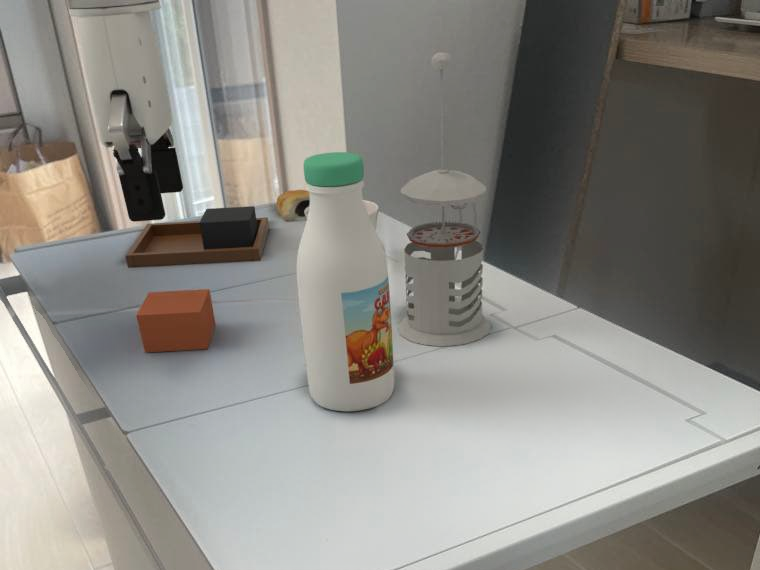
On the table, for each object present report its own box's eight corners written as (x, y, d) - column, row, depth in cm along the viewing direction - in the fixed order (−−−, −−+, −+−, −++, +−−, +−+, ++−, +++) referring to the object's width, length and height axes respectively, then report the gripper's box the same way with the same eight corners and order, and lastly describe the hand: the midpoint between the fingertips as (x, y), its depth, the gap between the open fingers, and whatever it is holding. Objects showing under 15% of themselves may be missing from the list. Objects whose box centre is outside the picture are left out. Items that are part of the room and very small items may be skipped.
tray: (129, 272, 105) (125, 255, 104) (150, 239, 116) (146, 223, 115) (260, 265, 106) (258, 248, 104) (269, 232, 117) (267, 217, 115)
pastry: (268, 210, 126) (265, 183, 123) (311, 204, 128) (309, 178, 125) (285, 226, 119) (282, 198, 116) (331, 220, 121) (329, 192, 118)
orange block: (144, 352, 85) (135, 315, 83) (156, 328, 90) (148, 292, 88) (207, 349, 85) (200, 311, 83) (216, 325, 90) (209, 288, 88)
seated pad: (204, 254, 108) (198, 222, 106) (211, 239, 113) (206, 208, 111) (254, 251, 108) (249, 219, 106) (258, 236, 113) (254, 205, 111)
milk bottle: (319, 420, 72) (291, 173, 60) (302, 382, 78) (274, 152, 66) (405, 405, 74) (394, 162, 62) (382, 370, 80) (368, 142, 68)
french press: (381, 338, 86) (365, 59, 71) (427, 299, 94) (421, 41, 79) (471, 352, 82) (474, 61, 67) (510, 310, 91) (520, 43, 76)
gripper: (92, -12, 77) (137, 185, 87) (34, 2, 63) (96, 235, 73) (174, -17, 77) (210, 180, 87) (134, -5, 63) (182, 229, 73)
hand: (158, 205), depth 80 cm, fingers open, 9 cm apart
